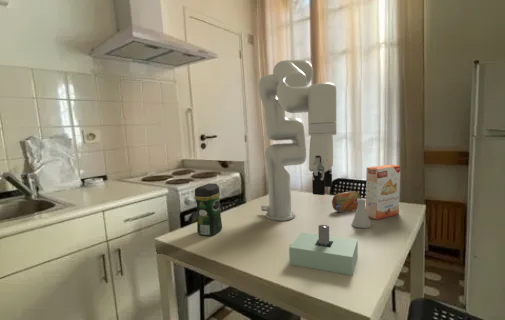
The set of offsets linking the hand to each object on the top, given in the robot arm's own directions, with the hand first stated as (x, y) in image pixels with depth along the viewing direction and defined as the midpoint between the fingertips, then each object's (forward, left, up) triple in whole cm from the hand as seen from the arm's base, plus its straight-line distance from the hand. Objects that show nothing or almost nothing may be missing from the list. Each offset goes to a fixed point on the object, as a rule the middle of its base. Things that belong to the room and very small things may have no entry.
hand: (322, 190), depth 80 cm
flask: (+7, +33, -21) cm, 39 cm away
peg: (0, 0, -21) cm, 21 cm away
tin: (-1, +51, -21) cm, 55 cm away
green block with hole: (0, 0, -21) cm, 21 cm away
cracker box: (+14, +48, -21) cm, 54 cm away
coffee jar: (-45, +7, -21) cm, 50 cm away
